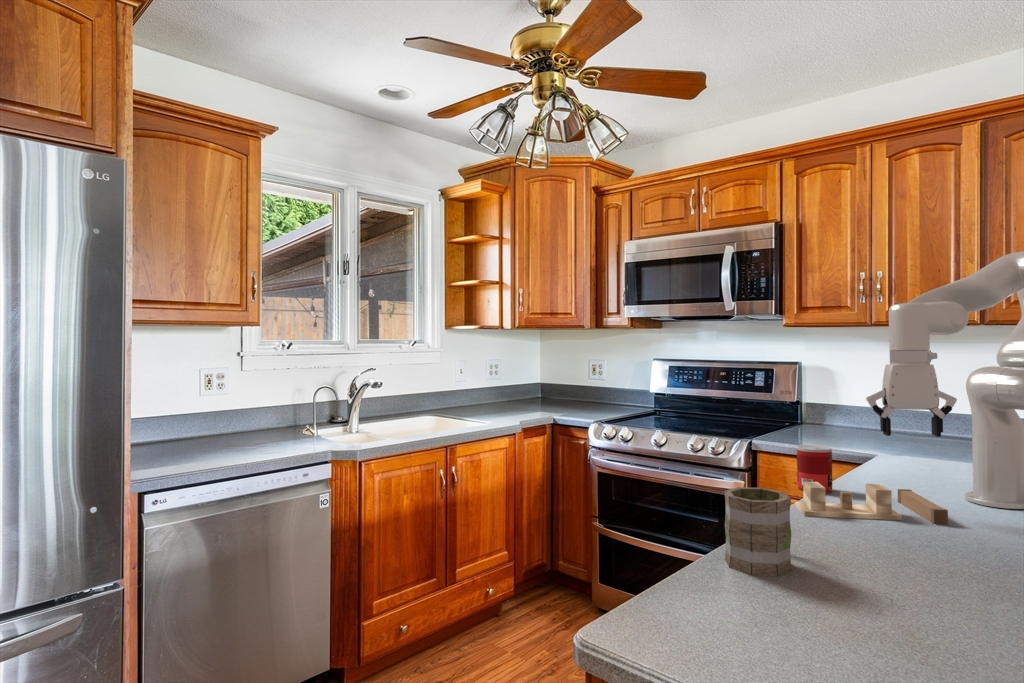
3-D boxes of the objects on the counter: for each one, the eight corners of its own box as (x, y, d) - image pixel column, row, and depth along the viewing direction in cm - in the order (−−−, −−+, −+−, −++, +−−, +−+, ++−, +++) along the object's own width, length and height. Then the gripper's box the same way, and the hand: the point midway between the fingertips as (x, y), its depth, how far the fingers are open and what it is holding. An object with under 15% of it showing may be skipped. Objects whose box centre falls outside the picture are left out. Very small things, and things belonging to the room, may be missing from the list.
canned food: (836, 494, 150) (836, 450, 150) (802, 493, 151) (801, 449, 151) (827, 487, 157) (826, 445, 157) (794, 486, 159) (793, 444, 159)
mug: (787, 581, 96) (786, 506, 96) (717, 568, 101) (716, 497, 101) (799, 552, 109) (799, 485, 109) (737, 542, 115) (736, 479, 115)
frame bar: (897, 502, 142) (897, 488, 142) (910, 502, 141) (909, 489, 141) (933, 524, 124) (933, 509, 124) (948, 525, 124) (947, 510, 124)
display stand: (886, 510, 135) (886, 483, 135) (901, 520, 127) (901, 491, 127) (795, 506, 139) (795, 480, 139) (804, 515, 131) (804, 488, 132)
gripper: (947, 357, 135) (949, 433, 135) (861, 358, 140) (862, 432, 140) (962, 358, 128) (964, 438, 128) (871, 359, 133) (872, 437, 133)
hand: (911, 435), depth 134 cm, fingers open, 9 cm apart
